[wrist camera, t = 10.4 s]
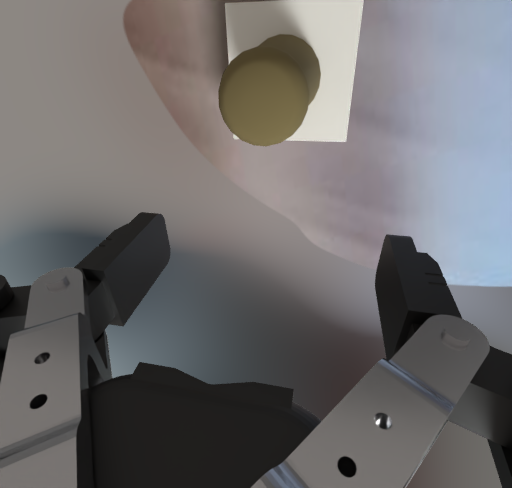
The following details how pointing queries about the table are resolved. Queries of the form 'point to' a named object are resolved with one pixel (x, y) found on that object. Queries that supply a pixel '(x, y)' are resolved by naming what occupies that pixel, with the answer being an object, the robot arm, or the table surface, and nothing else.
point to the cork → (269, 90)
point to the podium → (323, 43)
